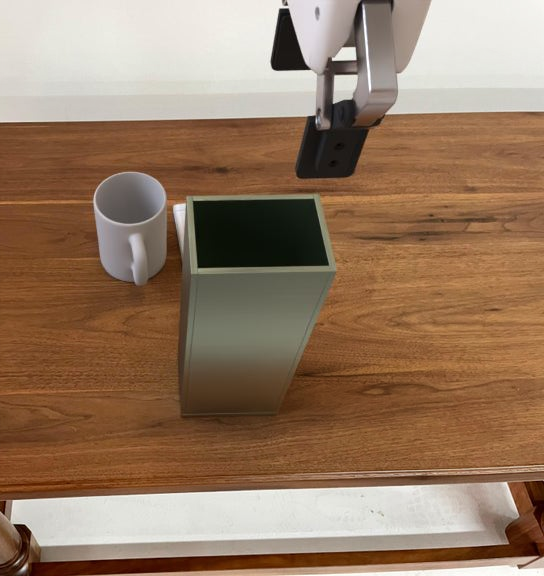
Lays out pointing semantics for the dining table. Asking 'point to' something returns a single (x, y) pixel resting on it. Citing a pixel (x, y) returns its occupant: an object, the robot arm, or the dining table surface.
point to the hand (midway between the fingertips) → (307, 117)
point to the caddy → (248, 299)
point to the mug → (131, 226)
